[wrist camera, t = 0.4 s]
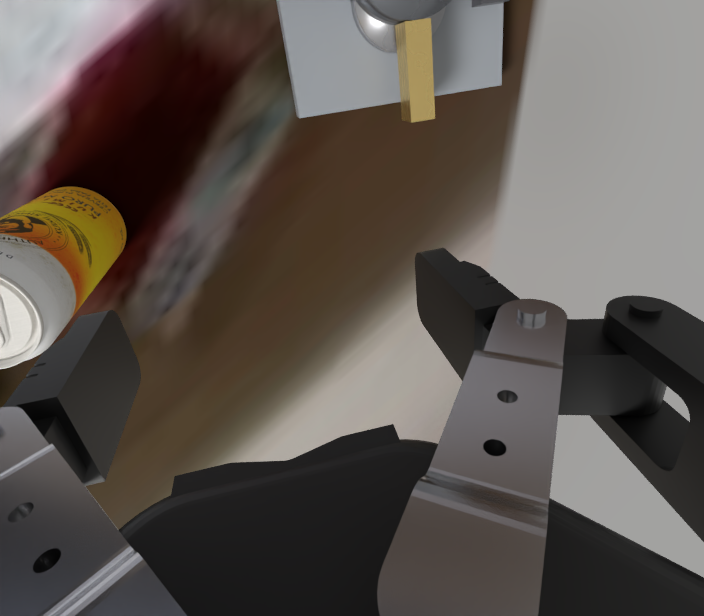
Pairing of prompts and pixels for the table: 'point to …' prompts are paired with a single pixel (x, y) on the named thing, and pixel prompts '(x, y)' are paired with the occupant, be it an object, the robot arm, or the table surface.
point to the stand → (383, 55)
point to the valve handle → (405, 46)
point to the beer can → (52, 265)
